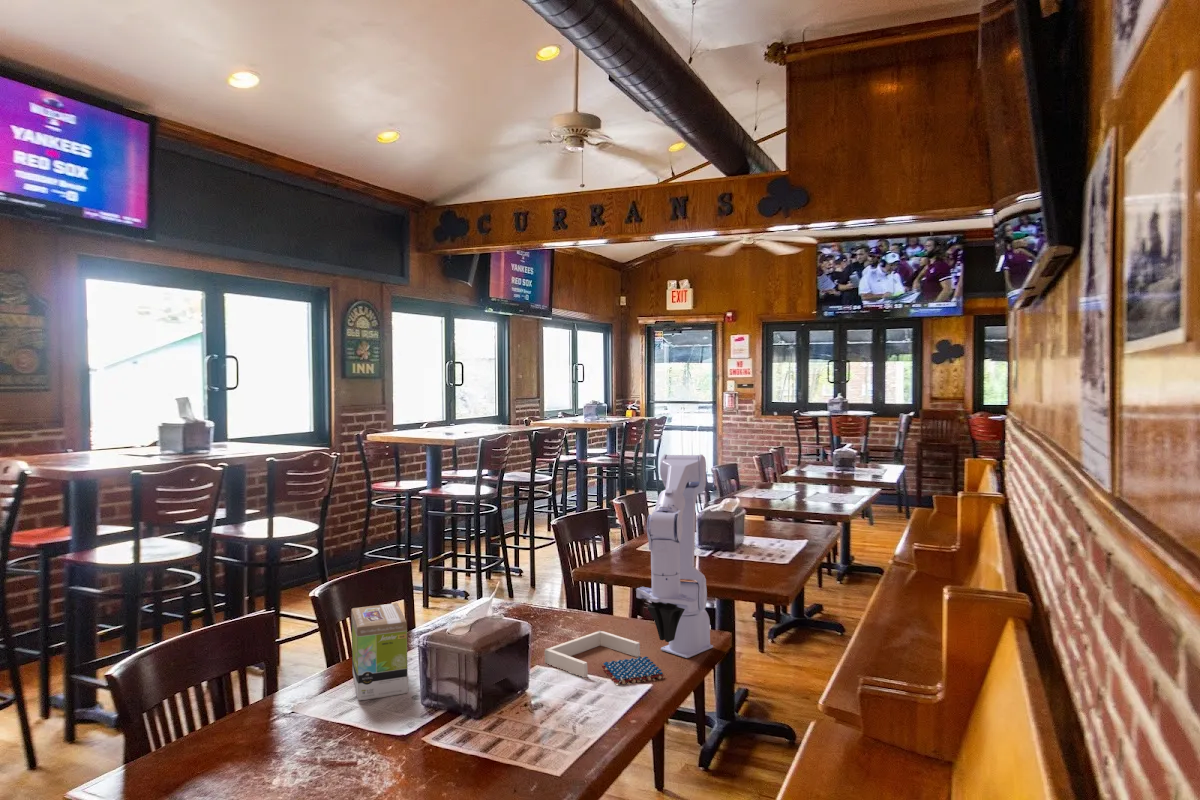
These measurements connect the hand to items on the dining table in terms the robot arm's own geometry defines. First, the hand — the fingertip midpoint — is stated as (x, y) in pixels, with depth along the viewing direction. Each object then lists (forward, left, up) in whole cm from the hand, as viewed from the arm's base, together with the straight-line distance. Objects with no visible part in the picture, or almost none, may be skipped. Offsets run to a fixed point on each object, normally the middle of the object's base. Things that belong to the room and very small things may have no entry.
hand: (667, 639), depth 155 cm
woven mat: (0, -10, -10) cm, 14 cm away
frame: (0, -22, -9) cm, 24 cm away
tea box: (+39, -45, -10) cm, 60 cm away
